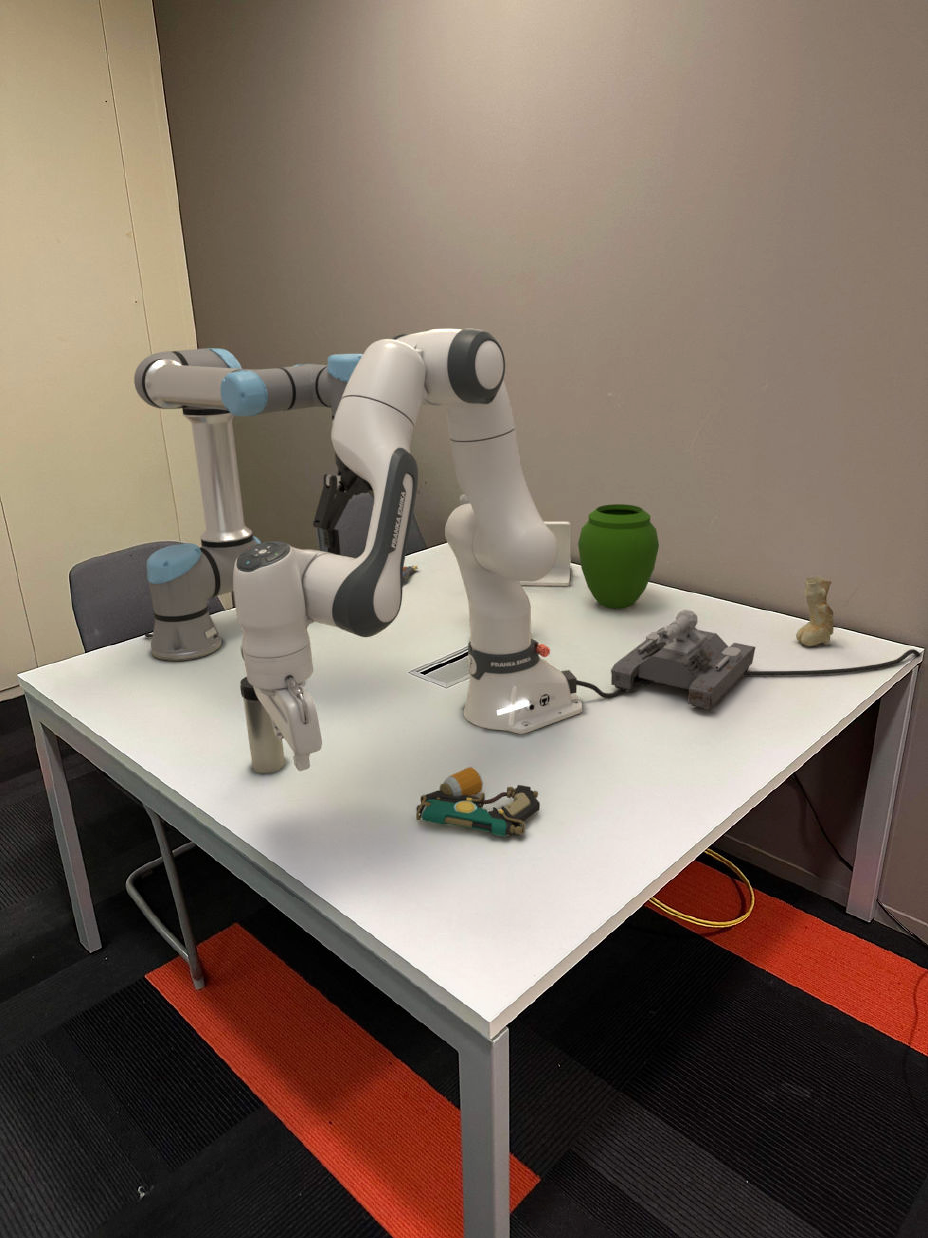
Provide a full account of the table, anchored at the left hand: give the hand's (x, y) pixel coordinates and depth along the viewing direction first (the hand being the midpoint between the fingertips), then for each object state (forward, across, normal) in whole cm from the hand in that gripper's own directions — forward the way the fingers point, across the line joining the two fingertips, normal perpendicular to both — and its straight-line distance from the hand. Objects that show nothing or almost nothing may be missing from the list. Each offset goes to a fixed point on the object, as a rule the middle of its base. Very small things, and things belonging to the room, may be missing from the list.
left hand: (363, 555), depth 163 cm
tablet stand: (+28, +76, +23) cm, 85 cm away
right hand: (+14, -41, -31) cm, 53 cm away
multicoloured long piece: (+28, +51, +49) cm, 76 cm away
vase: (+28, +72, -10) cm, 78 cm away
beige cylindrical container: (+28, -32, -10) cm, 43 cm away
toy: (+28, +43, -46) cm, 69 cm away
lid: (+12, -32, -10) cm, 35 cm away
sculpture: (+28, +78, -58) cm, 101 cm away
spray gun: (+28, -19, -47) cm, 58 cm away
